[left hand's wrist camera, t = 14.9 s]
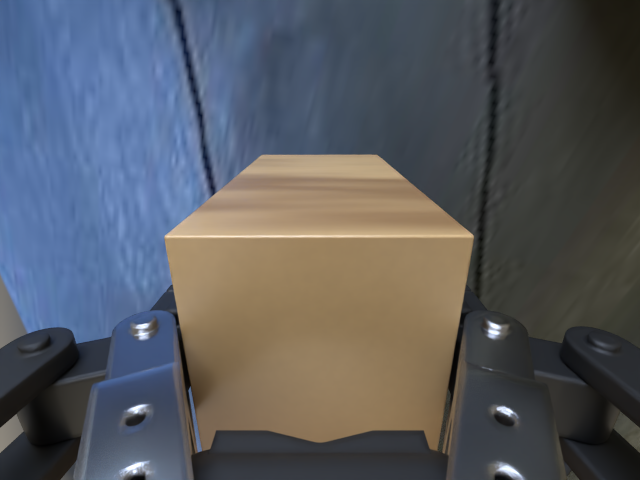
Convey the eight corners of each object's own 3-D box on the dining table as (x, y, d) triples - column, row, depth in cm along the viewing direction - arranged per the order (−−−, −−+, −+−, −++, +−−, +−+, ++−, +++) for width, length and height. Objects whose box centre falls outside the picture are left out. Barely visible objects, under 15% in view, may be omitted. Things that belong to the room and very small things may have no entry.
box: (261, 154, 17) (162, 235, 6) (377, 154, 17) (475, 235, 6) (281, 481, 26) (254, 748, 15) (358, 481, 26) (386, 748, 15)
